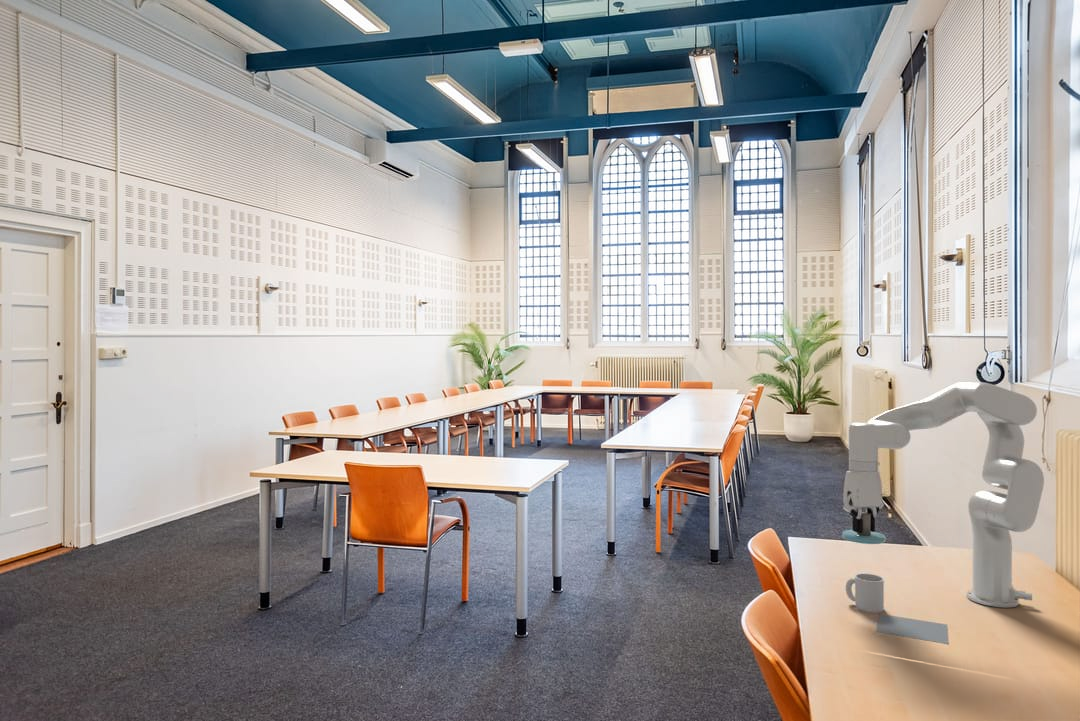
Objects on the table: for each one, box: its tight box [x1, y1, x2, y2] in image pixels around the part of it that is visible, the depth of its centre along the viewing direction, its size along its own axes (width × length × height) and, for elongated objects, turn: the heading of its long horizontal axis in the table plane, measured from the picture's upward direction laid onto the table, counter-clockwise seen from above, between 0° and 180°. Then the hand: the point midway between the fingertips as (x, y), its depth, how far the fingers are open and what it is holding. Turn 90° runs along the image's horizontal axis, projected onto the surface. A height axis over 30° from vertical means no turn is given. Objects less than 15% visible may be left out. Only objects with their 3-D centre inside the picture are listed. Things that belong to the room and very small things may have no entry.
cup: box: [845, 573, 885, 614], centre depth 192 cm, size 7×10×9 cm
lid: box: [841, 511, 887, 545], centre depth 192 cm, size 11×11×7 cm
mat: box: [875, 613, 950, 645], centre depth 177 cm, size 16×14×1 cm
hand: (863, 530), depth 192 cm, fingers closed on lid, 3 cm apart
